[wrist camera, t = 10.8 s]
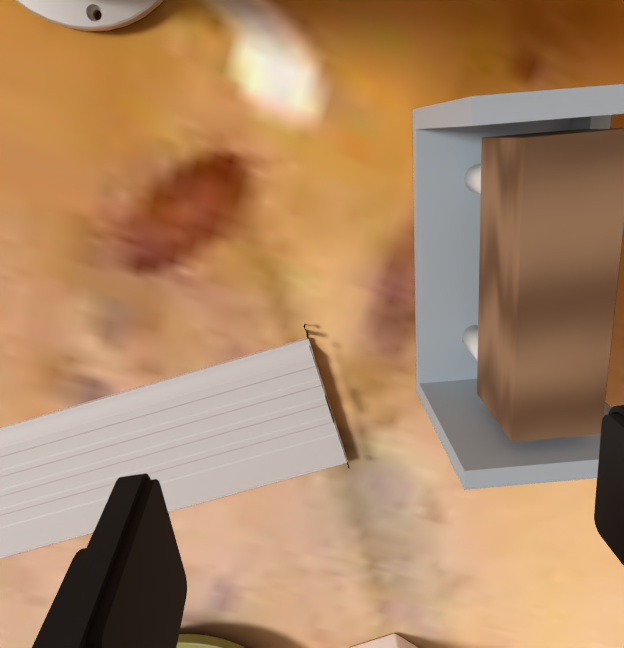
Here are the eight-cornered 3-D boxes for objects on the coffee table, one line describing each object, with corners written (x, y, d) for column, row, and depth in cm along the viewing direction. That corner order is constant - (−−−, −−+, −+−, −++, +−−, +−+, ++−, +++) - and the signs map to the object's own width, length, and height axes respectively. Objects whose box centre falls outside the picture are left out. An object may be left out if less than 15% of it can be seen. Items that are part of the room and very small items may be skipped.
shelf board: (481, 137, 30) (525, 137, 25) (570, 129, 30) (633, 128, 25) (477, 393, 36) (512, 442, 30) (552, 386, 36) (601, 433, 30)
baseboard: (-85, 430, 41) (-9, 550, 45) (-112, 451, 38) (-29, 576, 42) (303, 315, 39) (347, 451, 43) (304, 329, 37) (350, 472, 41)
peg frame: (412, 109, 34) (472, 96, 23) (583, 95, 35) (726, 75, 23) (416, 392, 41) (464, 489, 30) (560, 379, 41) (662, 472, 30)
